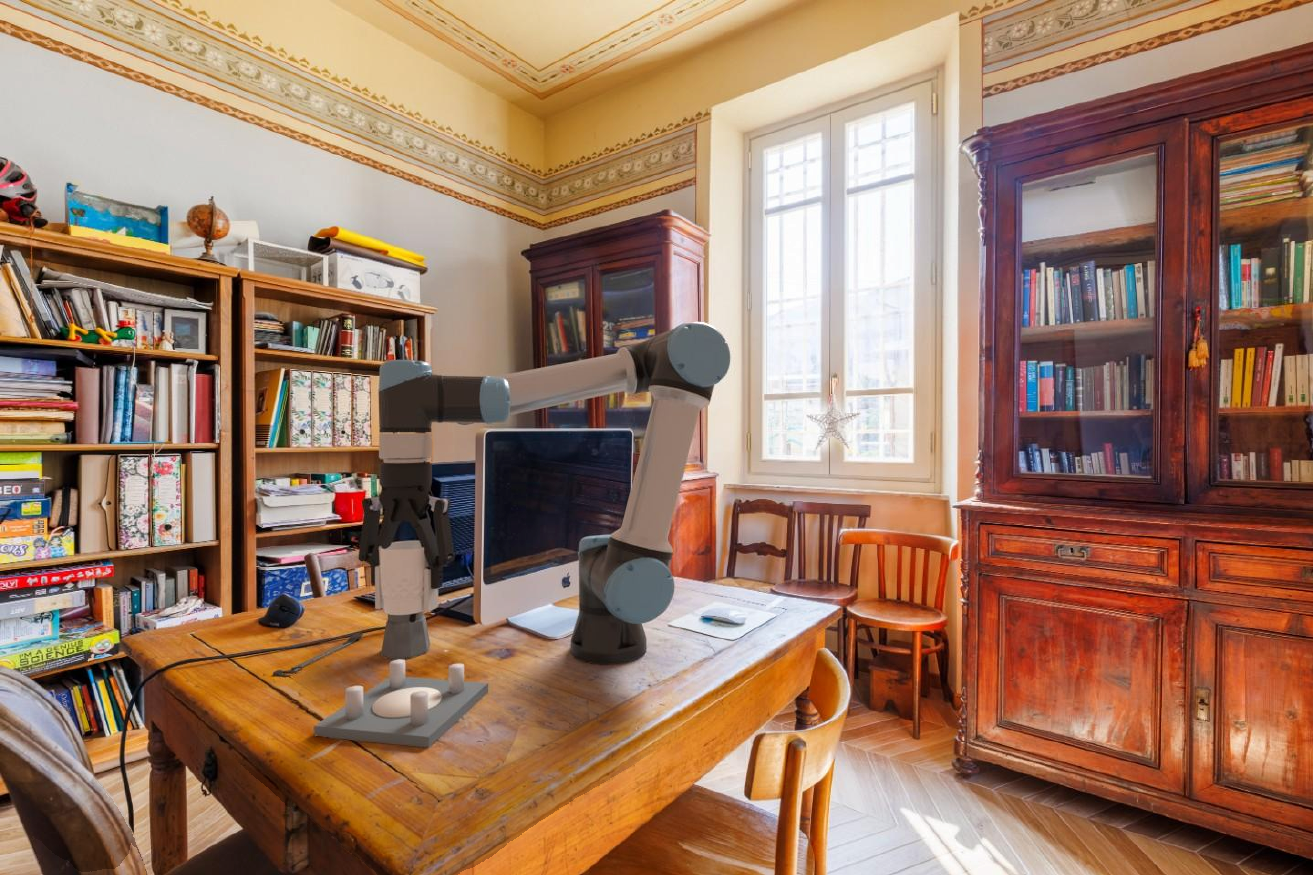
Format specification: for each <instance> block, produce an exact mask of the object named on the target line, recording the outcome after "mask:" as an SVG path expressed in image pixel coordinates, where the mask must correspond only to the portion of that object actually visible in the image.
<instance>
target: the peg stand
mask: <svg viewBox="0 0 1313 875" xmlns="http://www.w3.org/2000/svg"><path fill="white" fill-rule="evenodd" d="M488 692H489V682H481V681H480V682H479V681H468V680H467V681H465V664H464V663H453V664H450V665H449V666H448V679H441V678H440V679H438V678H426V677H417V676H416V677H413V676H406V660H405V659H392V660H391V661H390V662H389V676H388V677H387V678H385V679H384V680H382V681H381V682H379V683H378V684H376V685H374V686H372V688H370V689H368V690H367V691H365V692H364V687H363V686H361V685H353V686H350V687H347V688H345V690H344V706H343V707H341V708H339V709H337V710H336V711H334V712H333V713H331V714H329V716H327V717H325V718H324V719H322V720H321V721H319V722H318V723H317V724H315V725H313V736H314V735H317V736H324V737H323V738H326V737H329V738H328V739H337V740H347V741H358V742H367V743H378V744H389V745H397V746H398V745H399V746H407V747H409V746H410V747H418V748H419V747H420V748H430V747H432V745H434V744H435V742H436V741H438V740H439V739H440V738H442V737H443V735H444V734H446V732H447V731H448V730H450V729H451V728H452V727H453V726H454V725H455V724H456V722H458V721H459V720H460V719H461V718H463V716H465V714H466V713H467V712H469V711H470V709H472V708H473V707H474V706H475V705H476V704H478V702H479V701H481V700H482V699H483V697H484V696H486V695H487V694H488Z"/></svg>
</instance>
